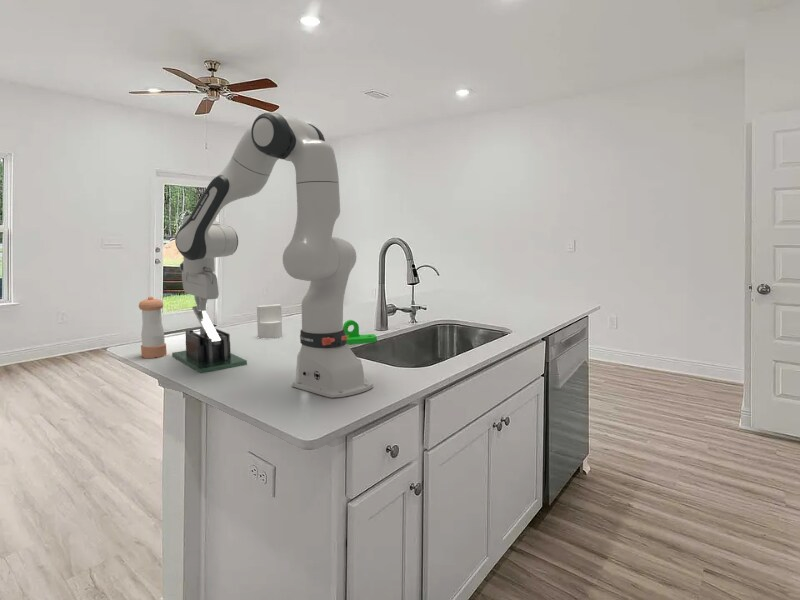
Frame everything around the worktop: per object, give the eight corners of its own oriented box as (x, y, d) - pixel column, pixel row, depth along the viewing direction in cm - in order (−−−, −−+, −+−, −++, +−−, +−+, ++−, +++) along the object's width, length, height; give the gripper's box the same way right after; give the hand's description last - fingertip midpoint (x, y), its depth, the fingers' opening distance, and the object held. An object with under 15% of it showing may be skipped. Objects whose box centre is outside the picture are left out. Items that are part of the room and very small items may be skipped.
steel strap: (222, 345, 148) (222, 342, 147) (212, 347, 146) (213, 343, 145) (201, 308, 158) (202, 305, 157) (192, 309, 156) (192, 305, 155)
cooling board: (246, 364, 149) (245, 336, 148) (200, 373, 140) (199, 343, 138) (215, 349, 167) (214, 324, 165) (172, 356, 157) (170, 330, 156)
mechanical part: (347, 345, 176) (347, 323, 175) (343, 341, 182) (343, 320, 180) (378, 342, 180) (378, 321, 179) (373, 339, 186) (373, 318, 185)
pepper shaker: (143, 353, 160) (139, 295, 157) (167, 351, 163) (164, 294, 160) (140, 359, 154) (135, 298, 151) (165, 357, 156) (162, 297, 153)
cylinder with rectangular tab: (277, 332, 194) (276, 303, 192) (285, 337, 186) (284, 306, 185) (254, 335, 189) (254, 304, 187) (261, 339, 182) (260, 308, 180)
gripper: (223, 268, 146) (224, 313, 148) (197, 263, 161) (199, 305, 163) (201, 269, 142) (203, 316, 144) (177, 264, 157) (179, 307, 159)
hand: (201, 310), depth 154 cm, fingers closed
